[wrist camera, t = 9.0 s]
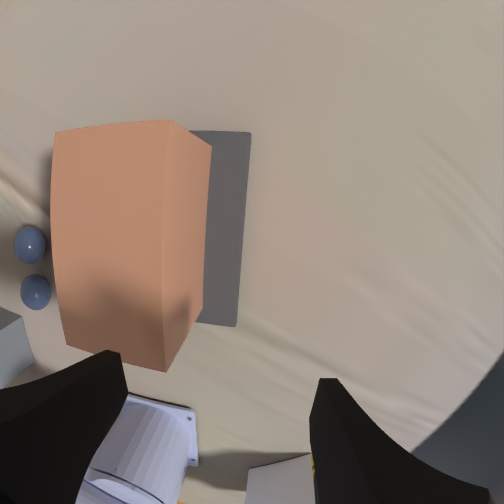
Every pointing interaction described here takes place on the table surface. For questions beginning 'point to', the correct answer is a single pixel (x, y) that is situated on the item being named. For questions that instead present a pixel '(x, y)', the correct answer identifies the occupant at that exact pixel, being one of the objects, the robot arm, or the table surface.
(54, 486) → the robot arm
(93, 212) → the salmon rectangular prism
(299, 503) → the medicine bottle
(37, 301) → the marble
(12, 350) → the grey rectangular block
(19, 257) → the marble
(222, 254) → the charcoal mat
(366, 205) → the table surface
